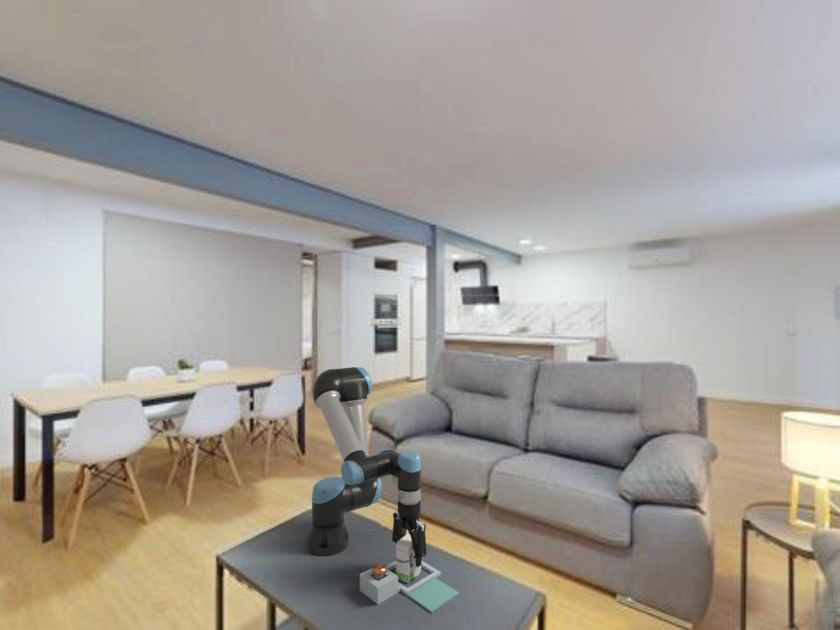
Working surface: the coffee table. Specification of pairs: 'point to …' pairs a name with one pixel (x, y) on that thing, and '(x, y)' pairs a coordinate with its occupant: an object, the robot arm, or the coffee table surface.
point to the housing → (391, 583)
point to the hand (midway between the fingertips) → (408, 569)
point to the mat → (433, 595)
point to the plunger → (378, 571)
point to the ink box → (404, 559)
